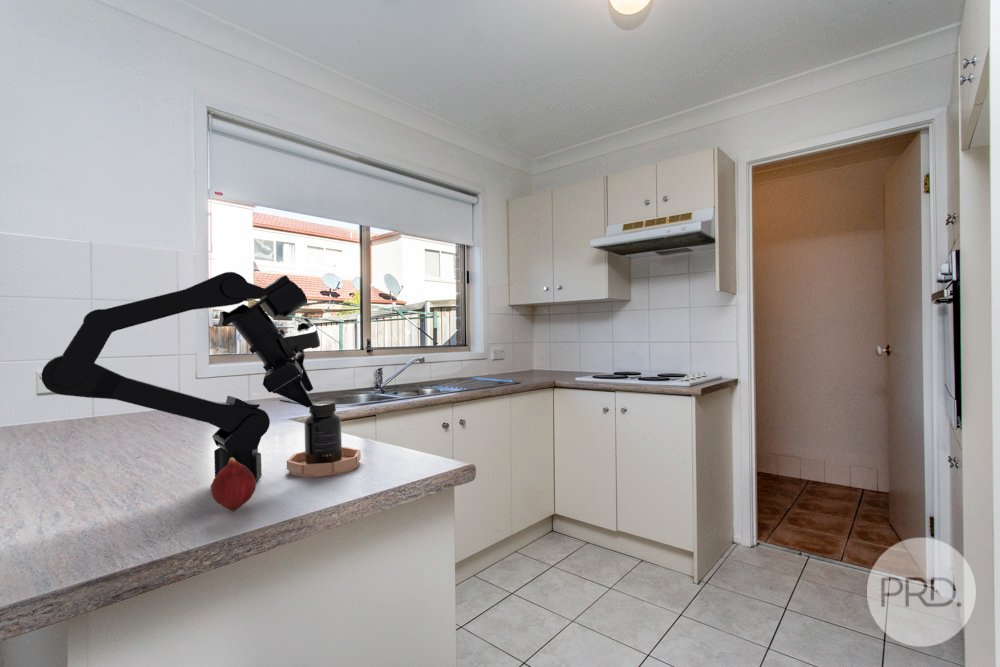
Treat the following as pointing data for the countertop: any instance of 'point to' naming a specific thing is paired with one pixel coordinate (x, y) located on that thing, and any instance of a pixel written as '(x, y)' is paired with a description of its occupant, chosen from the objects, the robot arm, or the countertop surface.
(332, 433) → the supplement bottle
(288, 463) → the terracotta saucer
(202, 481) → the countertop surface
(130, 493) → the countertop surface
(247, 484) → the onion
